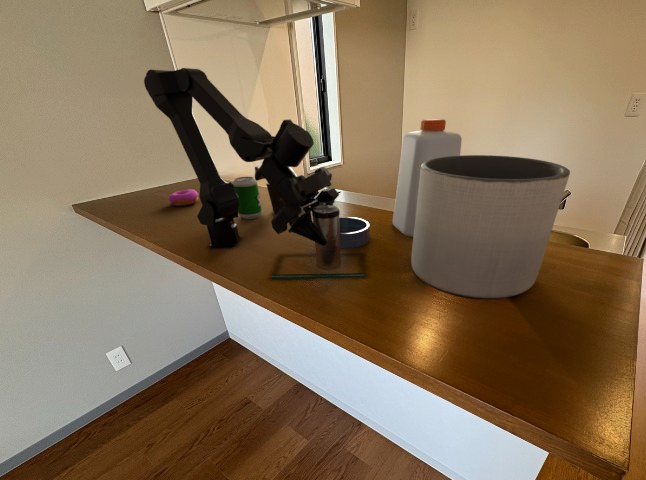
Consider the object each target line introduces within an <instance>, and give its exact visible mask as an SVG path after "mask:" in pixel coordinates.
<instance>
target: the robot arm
mask: <svg viewBox="0 0 646 480" xmlns="http://www.w3.org/2000/svg"><path fill="white" fill-rule="evenodd" d="M143 85H144V88H145V90H146V91H147V93H148V95H149V97H150V99H151V100H152V102H153V103H154V105H155V107H156V108H157V109H158V110H159V111H160V112H161V113H162V114H164V115H165V117H167V118H168V119H169V120H170V122H171V125H172V127H173V128H174V131H175V133H176V135H177V137H178V140H179V141H180V143H181V145H182V148H183V150H184V152H185V154H186V157H187V159H188V160H189V162H190V165H191V167H192V169H193V171H194V173H195V175H196V178H197V180H198V182H199V193H198V194H199V195H198V198H199V200H200V203H201V207H200V210H199V211H198V214H197V217H196V218H197V220H198V221H199V223H200V224H201V225H203V226H206V229H207V232H208V236H209V239H210V243H209V244H208V247H209V248H232V247H235V246H236V244H237V243H238V242H239V241H240V239H241V236H240V233H239V229H238V225H237V224H236V223H235V219H237V218H239V213H238V208H239V206H240V205H239V200H238V198H239V196H238V195H237V193H236V192H235V189H234V186H233V184H232V183H233V182H232V181H229V182H226V181H225V180H224V179H223V178H222V177H221V175H220V173H219V172H218V168H217V166H216V164H215V162H214V160H213V157H212V155H211V152H210V151H209V149H208V145H207V144H206V141H205V139H204V137H203V135H202V132H201V130H200V128H199V125H198V123H197V120H196V118H195V116H194V114H193V109H194V100H195V101H196V102H197V104H198V105H199V106H200V107H201V108H203V110H204V111H205V112H206V113H207V114H208V115H209V116H210V117H211V118H212V119H213V120H214V121H215V122H216V123H217V124H218V125H219V126H220V127H221V129H222V130H224V132H225V133H226V135H227V136H228V140H229V144H230V146H231V147H232V149H233V150H234V151H235V153H236V154H237V155H238V157H239V158H240V159H241V160H242V161H243V162H245V163H253V162H258V161H261V163H260V165H258V166H255V167H254V179H255V180H256V181H257V182H258V181H262V180H265V181H266V182H268V183H269V184H270V185H271V186H272V188H273V189H274V190H275V191H276V193H277V194H278V195H277V196H276V197H275V198H276V199H277V200H278V201H280V200H283V201H284V202H285V203H286V205H287V206H284V207H282V208H281V209H280V210H279V212H278V213H277V214H275V215H274V217H273V218H272V219H271V221H270V223H271V228H272V229H273V231H274V232H275V233H276V234H277V235H280V234H282V233H284V232H286V231H287V230H288V231H287V232H288V233H289V234H290V233H291V234H292V233H293V234H296V235H299V236H301V237H303V238H305V239H308V240H310V241H312V242H314V243H315V242H316V243H318V244H320V245H322V246H325V245H326V244H327V242H326V240H325V238H324V237H323V235H322V234H321V233H320V231H319V230H318V229H317V227H316V226H315V224H314V223H313V217H312V208H313V207H316V206H320V205H334V204H335V201H336V200H337V198H338V197H339V196H340V193H339V192H338V191H337V190H336V188H335V187H330V186H332V185H333V184H332V182H331V181H332V177H333V174H332V173H331V172H330V171H329V170H328V169H327V167H325V166H321V167H319V168H316V169H315V170H314V173H312V174H311V175H309V176H308V177H306V176H305V175H303V174H301V175H297V174H296V172H295V171H294V169H293V168H297V167H299V165H300V164H301V163H302V162H303V160H304V159H305V158H306V156H307V154H308V153H309V152H310V151H311V149H312V148H313V146H314V139H313V136H312V135H311V133H309V131H308V130H306V129H305V128H303V127H302V126H300V125H298V124H296V123H294V122H293V121H292V119H289V118H288V119H282V122H281V123H280V125H279V129H278V130H277V132H276V134H275V135H274V136H273V135H272V134H271V132H269V131H268V130H267V129H265V128H264V127H263V126H262V125H260V124H259V123H258V122H255V121H253V120H251V119H249V118H247V117H246V116H244V115H243V114H242V113H241V112H240V111H239V110H238V108H236V107H235V106H234V104H232V103H231V102H230V100H228V98H227V97H226V96H225V95H224V94H223V93H222V92H221V91H220V89H218V88H217V87H216V86H215V85H214V84H213V83H212V81H211V80H209V78H208V76H207V74H206V73H205V72H204V71H203V70H201V69H200V68H191V67H189V68H188V67H182V68H179V69H176V70H166V69H148V70H147V72H146V73H145V76H144V79H143ZM326 187H327V188H326ZM288 225H289V227H290V228H289V229H288ZM340 234H341V232H340Z"/></svg>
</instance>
